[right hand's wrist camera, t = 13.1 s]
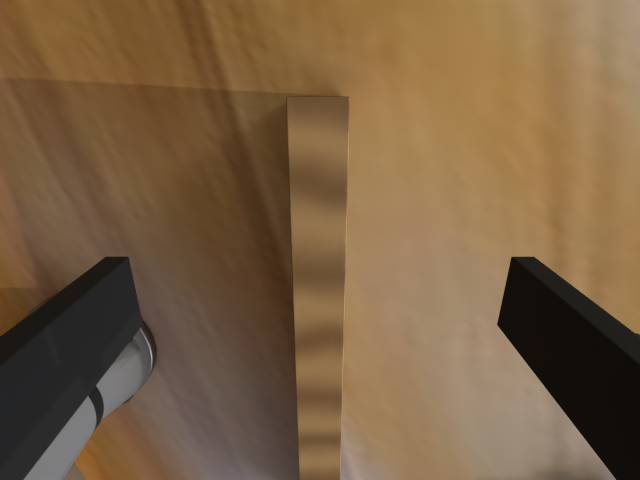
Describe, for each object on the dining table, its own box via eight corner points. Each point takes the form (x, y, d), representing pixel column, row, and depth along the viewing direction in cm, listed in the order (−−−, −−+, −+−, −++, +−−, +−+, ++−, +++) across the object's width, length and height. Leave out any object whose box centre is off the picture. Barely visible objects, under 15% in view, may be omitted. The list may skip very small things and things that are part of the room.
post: (294, 96, 35) (286, 96, 27) (343, 96, 35) (349, 96, 27) (304, 496, 55) (302, 563, 48) (335, 496, 55) (338, 563, 48)
